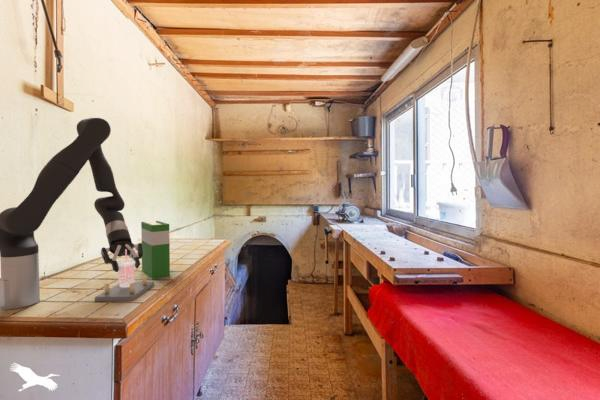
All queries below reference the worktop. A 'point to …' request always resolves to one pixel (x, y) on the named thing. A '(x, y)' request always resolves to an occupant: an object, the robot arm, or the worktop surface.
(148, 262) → the hardback book
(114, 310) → the worktop surface
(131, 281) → the beverage cup
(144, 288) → the chassis
